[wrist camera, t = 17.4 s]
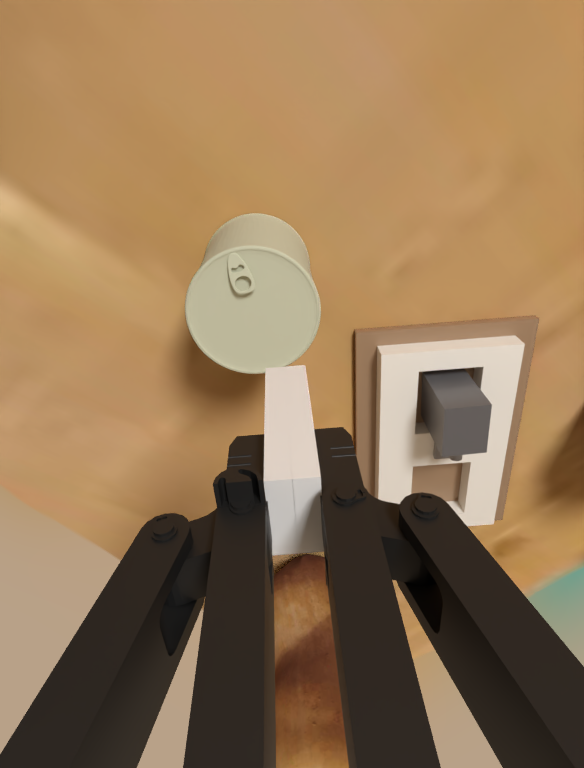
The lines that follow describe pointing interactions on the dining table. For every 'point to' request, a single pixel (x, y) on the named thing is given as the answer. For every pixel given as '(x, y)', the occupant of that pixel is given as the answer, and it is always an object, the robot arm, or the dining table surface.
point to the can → (253, 296)
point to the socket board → (403, 410)
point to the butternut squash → (306, 670)
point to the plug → (455, 412)
